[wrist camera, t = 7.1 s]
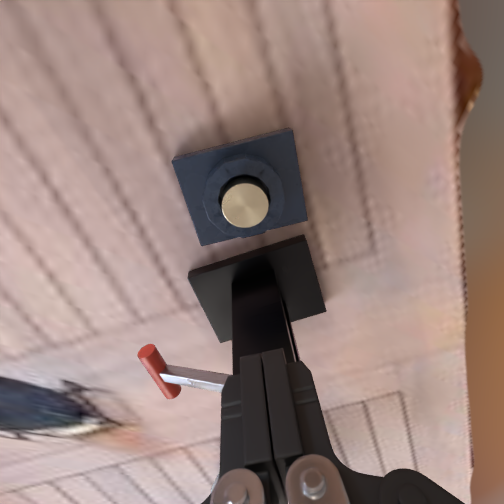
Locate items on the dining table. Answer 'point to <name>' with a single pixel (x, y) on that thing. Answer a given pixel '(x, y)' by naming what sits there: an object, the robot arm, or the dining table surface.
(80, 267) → the dining table surface
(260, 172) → the box
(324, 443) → the robot arm
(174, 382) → the lever
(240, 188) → the button
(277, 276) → the bracket
